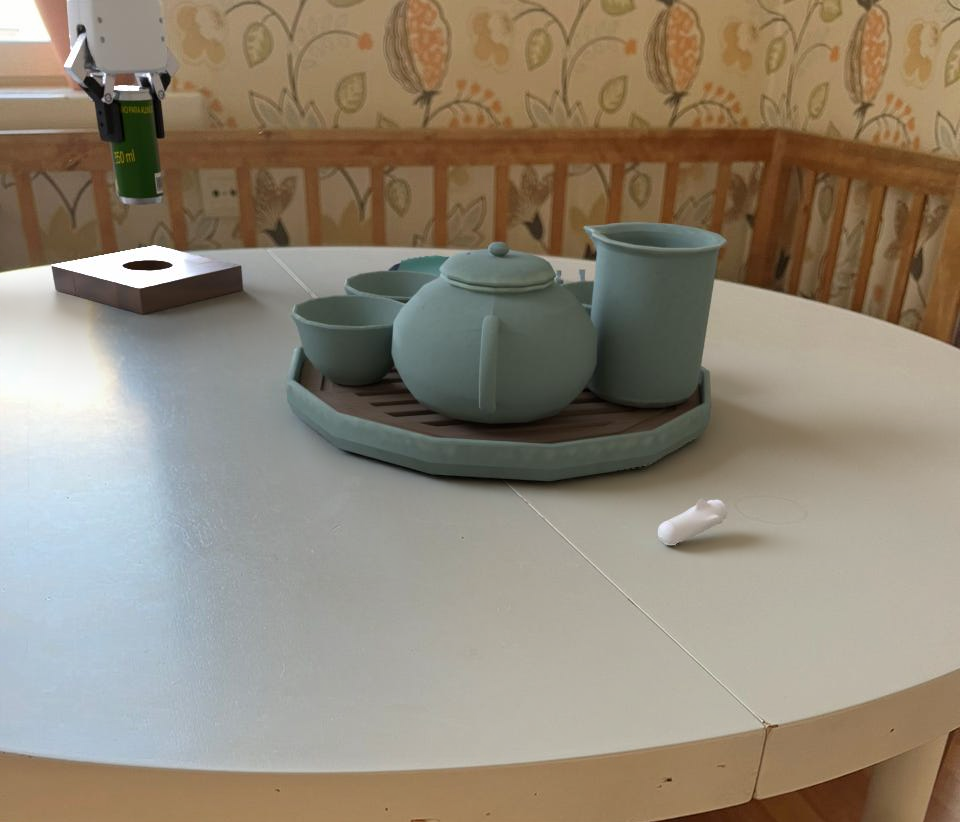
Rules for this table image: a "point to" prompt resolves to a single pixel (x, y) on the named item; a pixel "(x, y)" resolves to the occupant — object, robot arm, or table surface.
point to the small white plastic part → (692, 521)
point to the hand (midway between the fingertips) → (133, 137)
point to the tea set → (516, 359)
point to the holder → (147, 278)
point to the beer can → (136, 148)
